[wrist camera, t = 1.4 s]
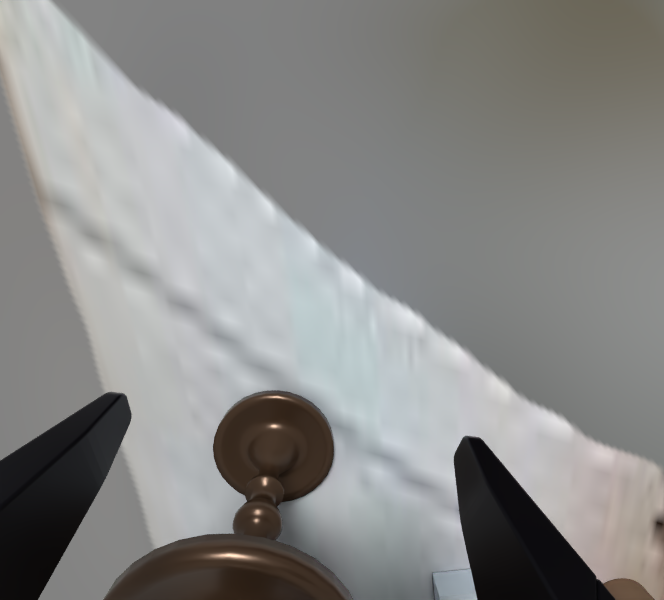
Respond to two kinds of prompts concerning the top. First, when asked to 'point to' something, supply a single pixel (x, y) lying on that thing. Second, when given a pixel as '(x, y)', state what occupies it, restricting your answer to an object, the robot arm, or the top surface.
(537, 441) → the top surface
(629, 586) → the walnut pillar
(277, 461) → the candlestick
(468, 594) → the base plate
